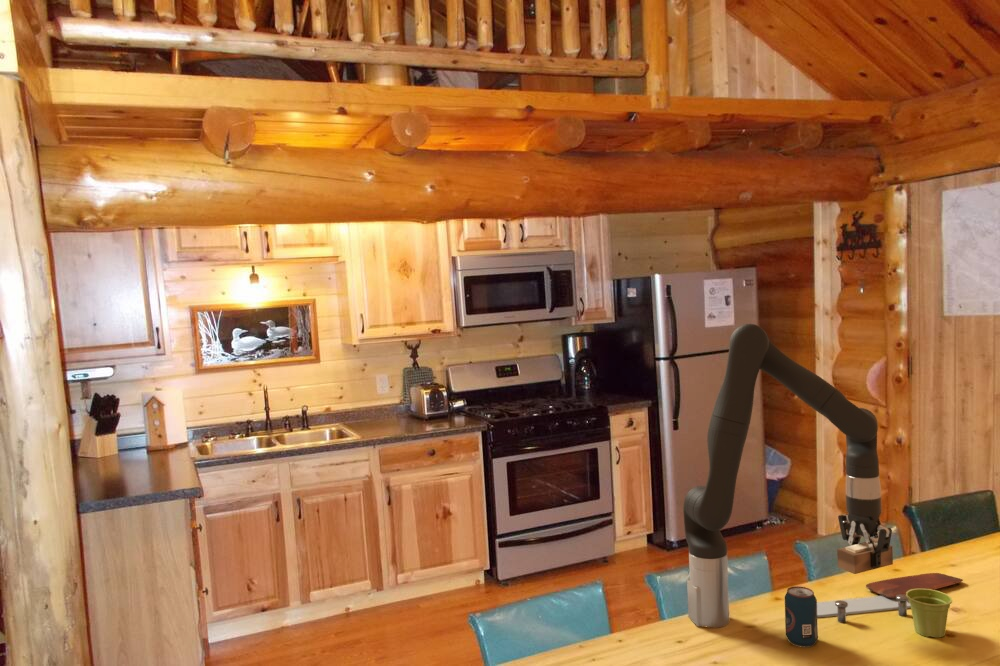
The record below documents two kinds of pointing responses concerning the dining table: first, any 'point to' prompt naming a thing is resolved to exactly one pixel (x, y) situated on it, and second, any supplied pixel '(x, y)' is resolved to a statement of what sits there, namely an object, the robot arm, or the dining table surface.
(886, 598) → the wall strip
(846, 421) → the robot arm
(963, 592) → the dining table surface
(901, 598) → the metal bolt
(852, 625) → the dining table surface
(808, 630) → the soda can
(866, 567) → the wooden box
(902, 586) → the brown flat slab
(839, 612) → the metal screw
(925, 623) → the plant pot
